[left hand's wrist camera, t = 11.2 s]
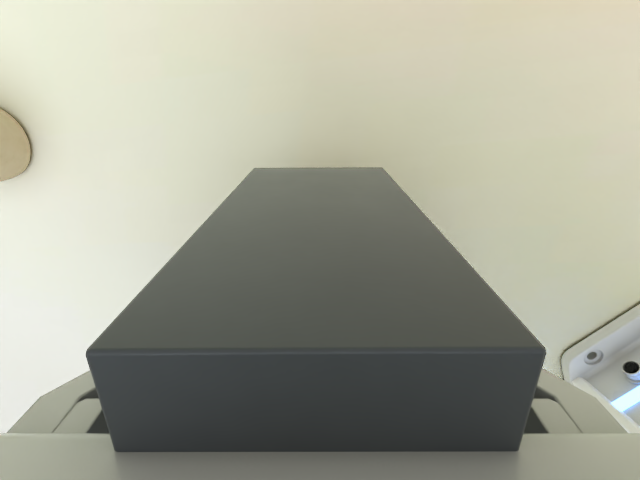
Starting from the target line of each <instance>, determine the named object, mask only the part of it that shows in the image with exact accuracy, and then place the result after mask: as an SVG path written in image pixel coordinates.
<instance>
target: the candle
mask: <svg viewBox="0 0 640 480" xmlns="http://www.w3.org/2000/svg"><path fill="white" fill-rule="evenodd" d="M30 156H31V150H30V144H29V141H28V138H27V136H26V133H25V132H24V130H23V128H22V127H21V126H20V124H19V123H18V122H17V121H16V120H15V119H14V118H13V117H12V116H11V115H9V114H8V113H7V112H5V111H3V110H2V109H0V181H4V180H7V179H11V178H13V177H16V176H17V175H19V174H21V173H22V172H23V171H24V170H25V169H26V168H27V166H28V164H29V161H30Z"/></svg>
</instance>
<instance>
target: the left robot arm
mask: <svg viewBox="0 0 640 480" xmlns="http://www.w3.org/2000/svg"><path fill="white" fill-rule="evenodd" d="M561 366H562V372H563V376H564V380H562V379H561V378H559V377H557V376H555V375H553V374H551V373H549V372H548V371H546V370H544V369H541V373H540V377H539V380H538V384H537V387H536V391H535V394H534V398H533V401H532V405H531V409H530V412H529V416H528V419H527V423H526V426H525V430H524V433H523V437H522V440H521V444H520V448H519V450H518V451H488V452H116V451H114V447H113V444H112V441H111V437H110V434H109V431H108V427H107V424H106V421H105V417H104V414H103V411H102V407H101V404H100V401H99V397H98V394H97V391H96V387H95V384H94V381H93V378H92V374H91V371H88V372H86V373H84V374H82V375H80V376H79V377H77V378H75V379H73V380H71V381H69V382H67V383H65V384H64V385H62V386H60V387H58V388H56V389H54V390H52V391H51V392H49V393H47V394H45V395H43V396H41V397H40V398H39V399H38V400H37V401H36V402H35V403H34V404H33V405H32V406H31V407H30V408H29V410H28V411H27V412H26V413H25V414H24V415H23V416H22V417H21V418H20V419H19V420H18V421H17V422H16V423H15V424H14V426H13V427H12V428H11V429H10V430H9V431H8V432H7V433H0V480H640V304H639V305H637V306H635V307H634V308H632V309H631V310H629V311H628V312H626V313H624V314H623V315H621V316H620V317H618V318H617V319H615V320H614V321H612V322H610V323H609V324H607V325H606V326H604V327H603V328H601V329H599V330H598V331H596V332H595V333H593V334H592V335H590V336H588V337H587V338H585V339H584V340H582V341H581V342H579V343H578V344H576V345H574V346H573V347H571V348H570V349H568V350H567V351H566V352H565V353H564V354H563V356H562V359H561Z"/></svg>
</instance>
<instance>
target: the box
mask: <svg viewBox="0 0 640 480" xmlns="http://www.w3.org/2000/svg"><path fill="white" fill-rule="evenodd" d="M545 355H546V350H545V347H544V346H543V345H542V344H541V343H540V342H539V341H538V340H537V339H536V337H535V336H534V335H533V334H532V333H531V332H530V331H529V330H528V329H527V327H526V326H525V325H524V324H523V323H522V322H521V321H520V320H519V319H518V317H517V316H516V315H515V314H514V313H513V312H512V311H511V310H510V309H509V308H508V306H507V305H506V304H505V303H504V302H503V301H502V300H501V299H500V298H499V296H498V295H497V294H496V293H495V292H494V291H493V290H492V289H491V288H490V286H489V285H488V284H487V283H486V282H485V281H484V280H483V279H482V278H481V276H480V275H479V274H478V273H477V272H476V271H475V270H474V269H473V268H472V267H471V265H470V264H469V263H468V262H467V261H466V260H465V259H464V258H463V257H462V255H461V254H460V253H459V252H458V251H457V250H456V249H455V248H454V247H453V245H452V244H451V243H450V242H449V241H448V240H447V239H446V238H445V237H444V235H443V234H442V233H441V232H440V231H439V230H438V229H437V228H436V227H435V226H434V224H433V223H432V222H431V221H430V220H429V219H428V218H427V217H426V216H425V214H424V213H423V212H422V211H421V210H420V209H419V208H418V207H417V206H416V204H415V203H414V202H413V201H412V200H411V199H410V198H409V197H408V196H407V194H406V193H405V192H404V191H403V190H402V189H401V188H400V187H399V186H398V185H397V183H396V182H395V181H394V180H393V179H392V178H391V177H390V176H389V175H388V173H387V172H386V171H385V170H384V169H383V168H254V169H253V170H252V171H251V172H250V173H249V174H248V176H247V177H246V178H245V179H244V180H243V181H242V182H241V183H240V184H239V185H238V186H237V187H236V189H235V190H234V191H233V192H232V193H231V194H230V195H229V196H228V197H227V198H226V199H225V201H224V202H223V203H222V204H221V205H220V206H219V207H218V208H217V209H216V210H215V211H214V212H213V214H212V215H211V216H210V217H209V218H208V219H207V220H206V221H205V222H204V223H203V224H202V225H201V227H200V228H199V229H198V230H197V231H196V232H195V233H194V234H193V235H192V236H191V237H190V238H189V240H188V241H187V242H186V243H185V244H184V245H183V246H182V247H181V248H180V249H179V250H178V252H177V253H176V254H175V255H174V256H173V257H172V258H171V259H170V260H169V261H168V262H167V263H166V265H165V266H164V267H163V268H162V269H161V270H160V271H159V272H158V273H157V274H156V275H155V276H154V278H153V279H152V280H151V281H150V282H149V283H148V284H147V285H146V286H145V287H144V288H143V289H142V291H141V292H140V293H139V294H138V295H137V296H136V297H135V298H134V299H133V300H132V301H131V302H130V304H129V305H128V306H127V307H126V308H125V309H124V310H123V311H122V312H121V313H120V314H119V316H118V317H117V318H116V319H115V320H114V321H113V322H112V323H111V324H110V325H109V326H108V327H107V329H106V330H105V331H104V332H103V333H102V334H101V335H100V336H99V337H98V338H97V339H96V340H95V342H94V343H93V344H92V345H91V346H90V347H89V348H88V349H87V351H86V358H87V361H88V364H89V368H90V371H91V374H92V378H93V381H94V384H95V387H96V391H97V394H98V397H99V401H100V404H101V407H102V411H103V414H104V417H105V421H106V424H107V427H108V431H109V434H110V437H111V441H112V444H113V447H114V451H116V452H488V451H518V450H519V448H520V444H521V440H522V437H523V433H524V430H525V426H526V423H527V419H528V416H529V412H530V409H531V405H532V401H533V398H534V394H535V391H536V387H537V384H538V380H539V377H540V373H541V369H542V366H543V362H544V359H545Z"/></svg>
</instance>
